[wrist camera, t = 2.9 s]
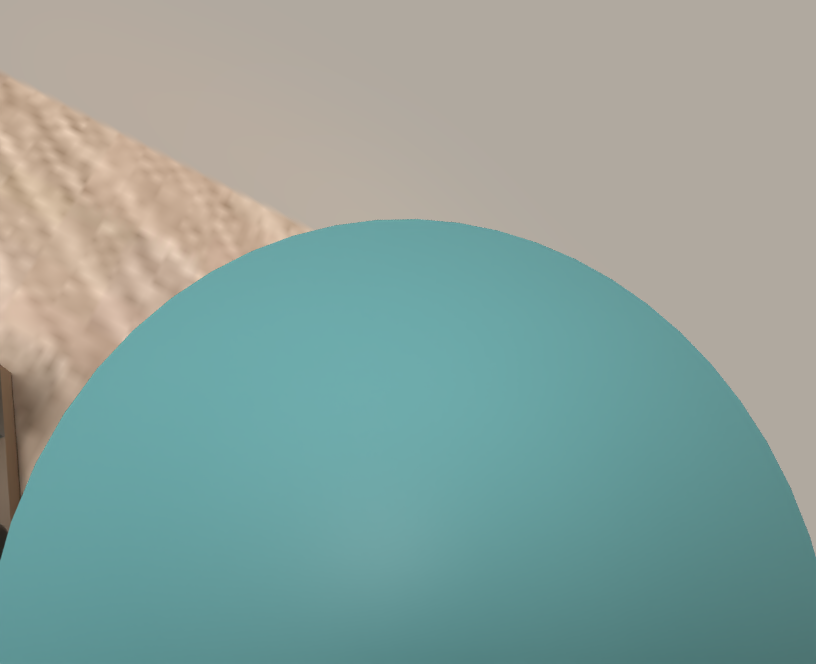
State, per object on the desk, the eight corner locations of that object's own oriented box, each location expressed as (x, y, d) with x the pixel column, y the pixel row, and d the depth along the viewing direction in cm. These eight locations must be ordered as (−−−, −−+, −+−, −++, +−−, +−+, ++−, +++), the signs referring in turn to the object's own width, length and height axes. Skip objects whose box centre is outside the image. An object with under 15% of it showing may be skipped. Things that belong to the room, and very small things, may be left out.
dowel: (442, 660, 14) (1010, 863, 3) (278, 727, 13) (19, 1553, 2) (391, 499, 16) (612, 173, 4) (240, 547, 15) (-38, 295, 3)
